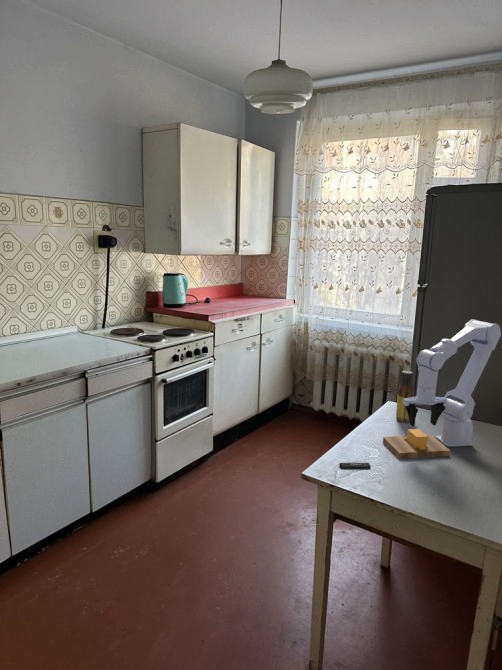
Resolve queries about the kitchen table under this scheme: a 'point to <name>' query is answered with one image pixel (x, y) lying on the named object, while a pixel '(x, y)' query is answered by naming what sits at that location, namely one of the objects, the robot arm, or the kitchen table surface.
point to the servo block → (417, 439)
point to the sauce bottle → (404, 395)
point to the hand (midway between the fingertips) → (422, 424)
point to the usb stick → (355, 466)
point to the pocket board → (407, 451)
